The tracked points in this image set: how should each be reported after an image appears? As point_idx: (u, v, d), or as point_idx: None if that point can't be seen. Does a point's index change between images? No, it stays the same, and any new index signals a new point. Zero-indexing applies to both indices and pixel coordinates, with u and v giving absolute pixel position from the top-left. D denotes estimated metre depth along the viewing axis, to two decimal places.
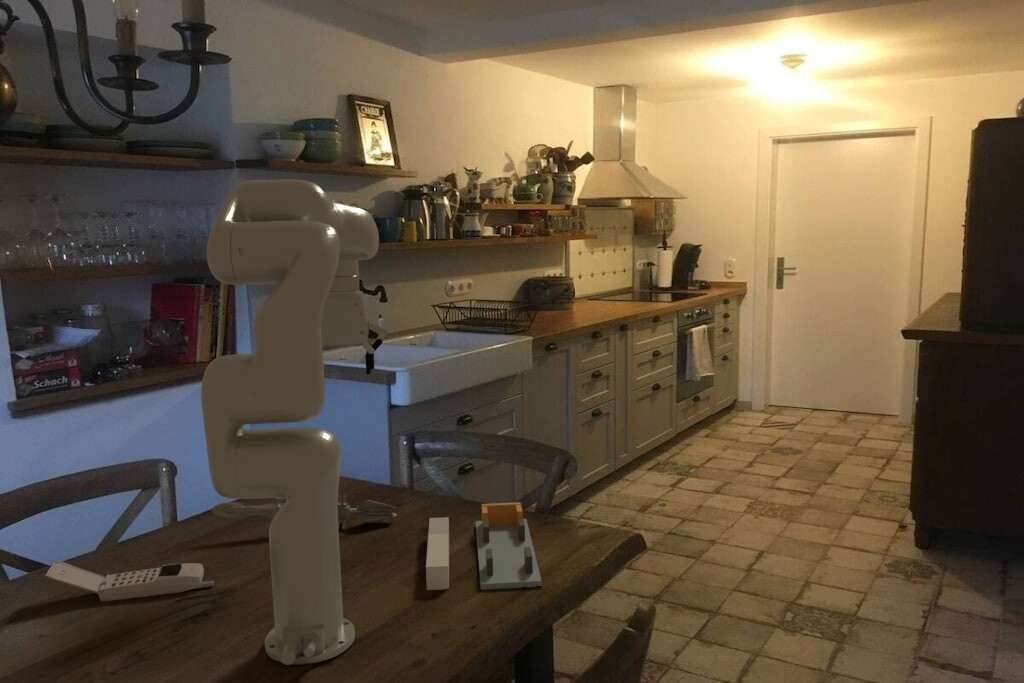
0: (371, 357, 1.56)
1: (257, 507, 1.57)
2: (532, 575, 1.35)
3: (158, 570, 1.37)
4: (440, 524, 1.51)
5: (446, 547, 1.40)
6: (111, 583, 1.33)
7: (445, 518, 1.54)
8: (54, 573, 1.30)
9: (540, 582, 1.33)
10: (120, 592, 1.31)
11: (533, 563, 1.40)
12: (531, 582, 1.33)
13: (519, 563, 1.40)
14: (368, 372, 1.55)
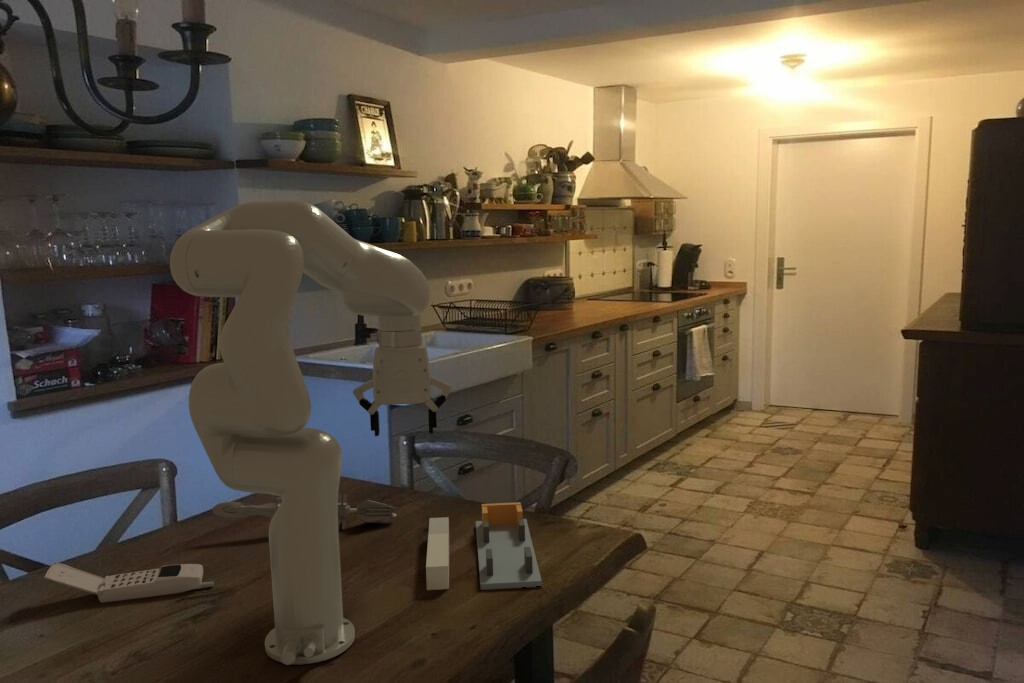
0: (434, 415, 1.46)
1: (257, 507, 1.57)
2: (532, 575, 1.35)
3: (157, 571, 1.36)
4: (440, 524, 1.51)
5: (446, 547, 1.40)
6: (110, 584, 1.32)
7: (445, 518, 1.54)
8: (53, 574, 1.29)
9: (540, 582, 1.33)
10: (120, 593, 1.31)
11: (533, 563, 1.40)
12: (531, 582, 1.33)
13: (519, 563, 1.40)
14: (431, 431, 1.45)
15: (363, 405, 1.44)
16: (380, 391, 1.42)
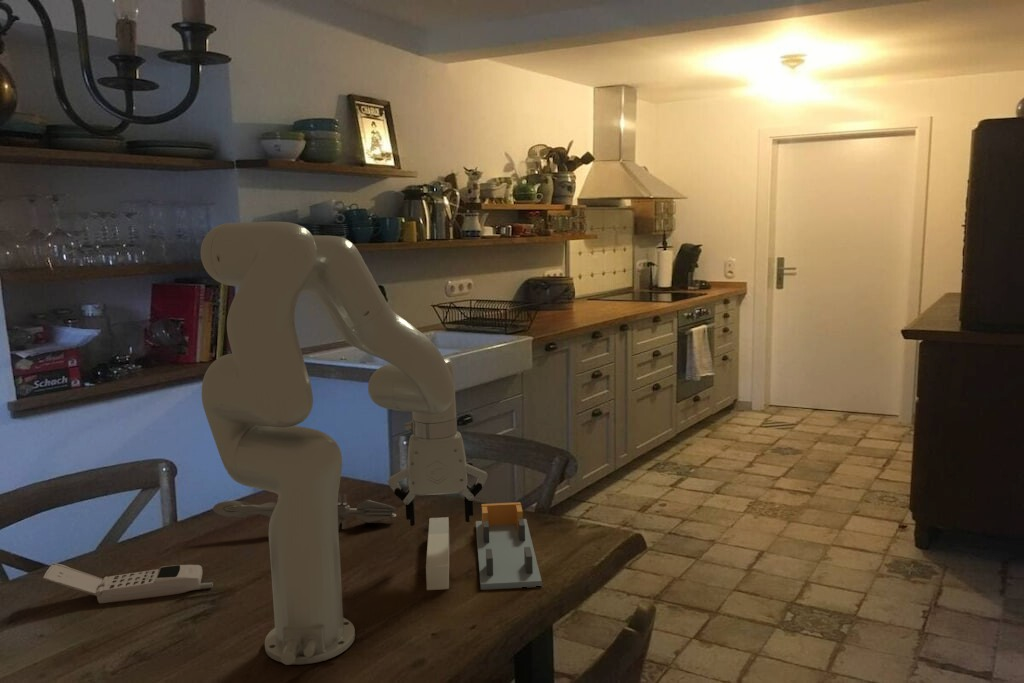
0: (470, 503, 1.43)
1: (257, 506, 1.57)
2: (532, 575, 1.35)
3: (156, 572, 1.36)
4: (440, 524, 1.51)
5: (446, 547, 1.40)
6: (109, 585, 1.32)
7: (445, 518, 1.54)
8: (52, 575, 1.29)
9: (540, 582, 1.33)
10: (118, 594, 1.31)
11: (533, 563, 1.40)
12: (531, 582, 1.33)
13: (519, 563, 1.40)
14: (468, 520, 1.42)
15: (398, 495, 1.41)
16: (415, 482, 1.39)
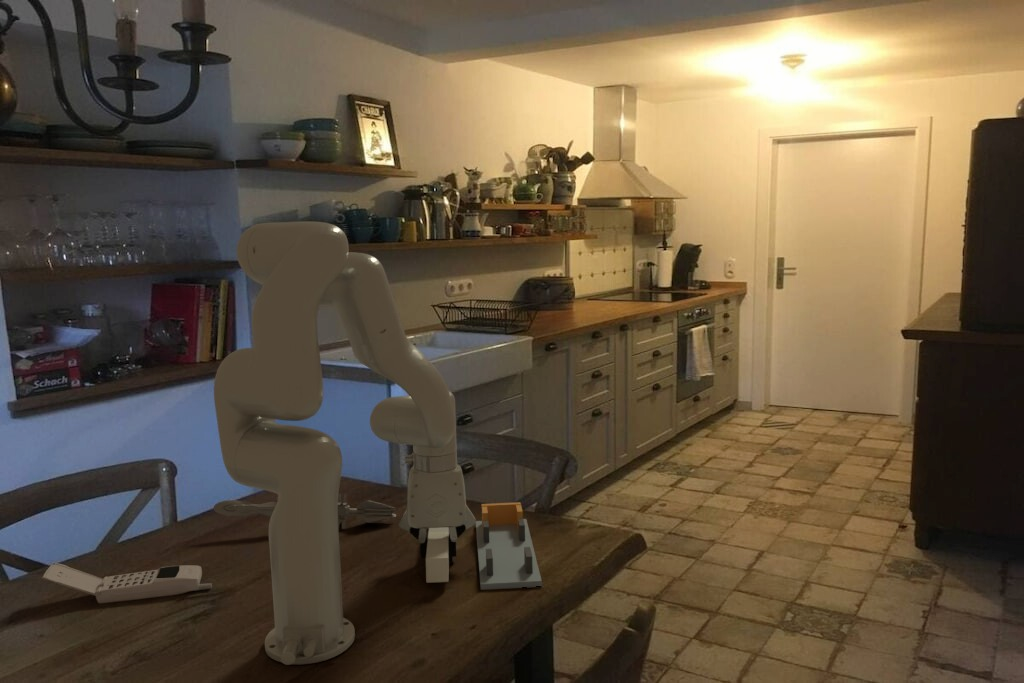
0: (454, 544, 1.43)
1: (257, 505, 1.58)
2: (532, 575, 1.35)
3: (156, 572, 1.36)
4: None
5: (446, 542, 1.40)
6: (108, 585, 1.32)
7: None
8: (51, 575, 1.29)
9: (540, 582, 1.33)
10: (117, 594, 1.31)
11: (533, 563, 1.40)
12: (531, 582, 1.33)
13: (519, 563, 1.40)
14: (451, 561, 1.42)
15: (413, 533, 1.42)
16: (415, 515, 1.40)
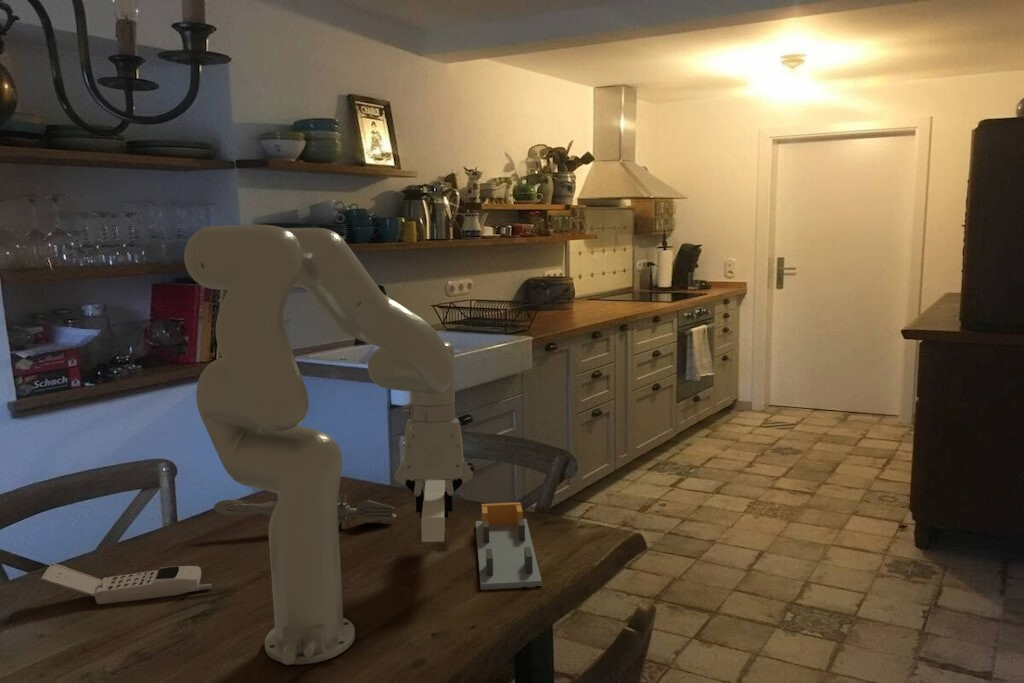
0: (450, 499, 1.41)
1: (258, 505, 1.58)
2: (532, 575, 1.35)
3: (155, 573, 1.36)
4: (436, 485, 1.49)
5: (442, 503, 1.38)
6: (108, 586, 1.32)
7: (442, 480, 1.52)
8: (50, 576, 1.29)
9: (540, 582, 1.33)
10: (117, 595, 1.30)
11: (533, 563, 1.40)
12: (531, 582, 1.33)
13: (519, 563, 1.40)
14: (446, 515, 1.40)
15: (409, 486, 1.40)
16: (411, 466, 1.38)
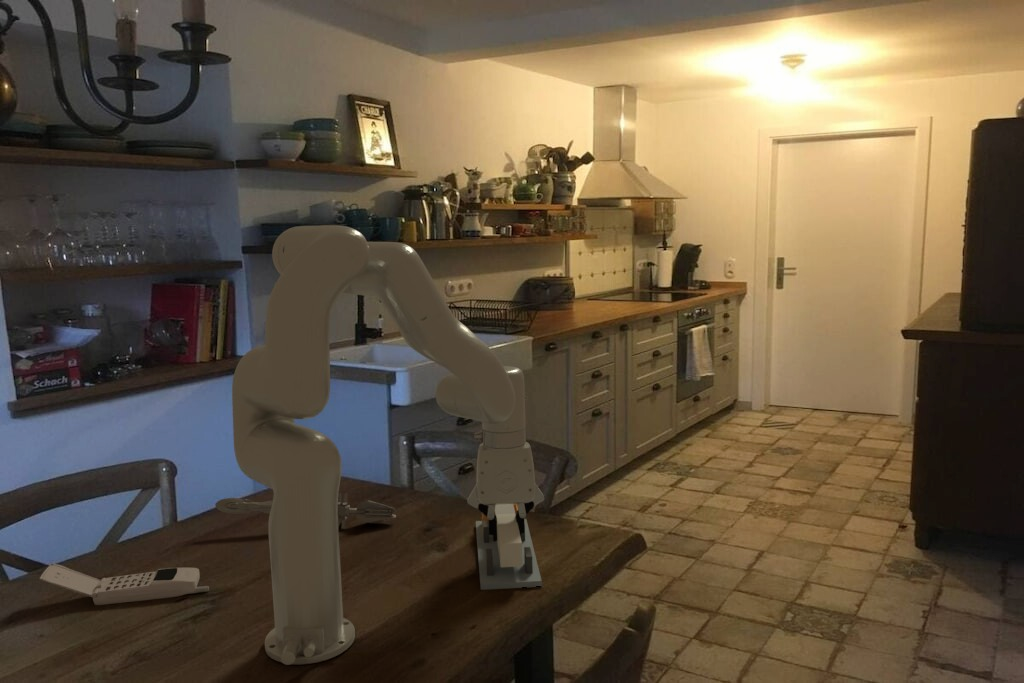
0: (522, 521, 1.43)
1: (258, 504, 1.59)
2: (532, 575, 1.35)
3: (154, 574, 1.35)
4: (505, 505, 1.51)
5: (516, 526, 1.41)
6: (106, 587, 1.31)
7: None
8: (49, 576, 1.29)
9: (540, 582, 1.33)
10: (114, 596, 1.30)
11: (533, 563, 1.40)
12: (531, 582, 1.33)
13: None
14: None
15: (482, 510, 1.42)
16: (484, 491, 1.40)
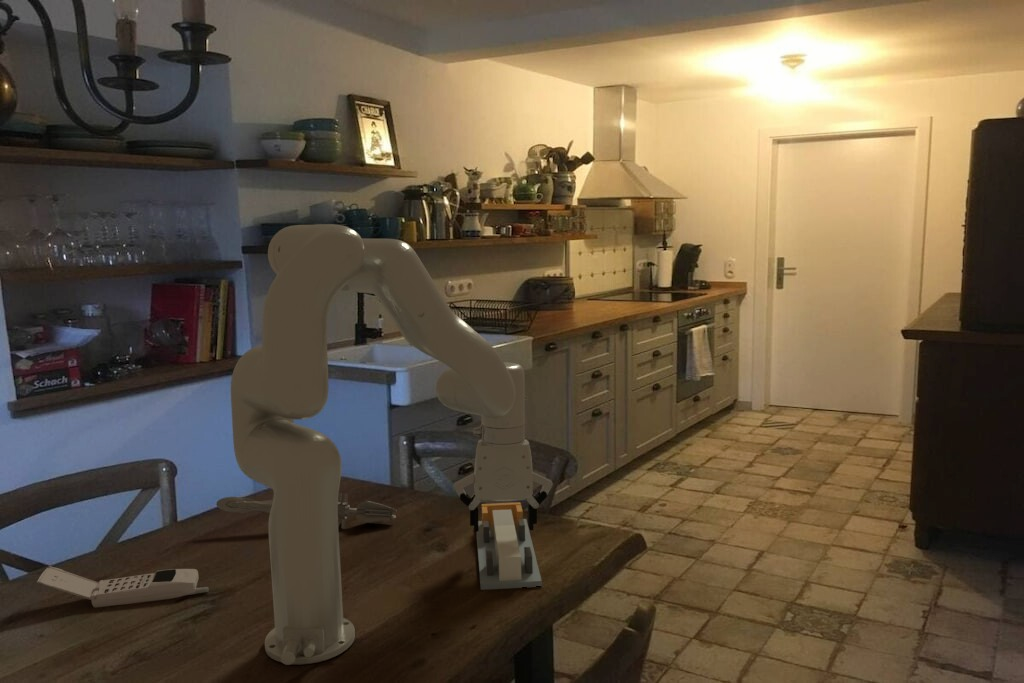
0: (535, 511, 1.43)
1: (259, 503, 1.59)
2: (532, 575, 1.35)
3: (152, 576, 1.34)
4: (504, 516, 1.51)
5: (515, 538, 1.41)
6: (104, 589, 1.31)
7: (508, 510, 1.54)
8: (46, 579, 1.28)
9: (540, 582, 1.33)
10: (113, 598, 1.29)
11: (533, 563, 1.40)
12: (531, 582, 1.33)
13: None
14: (531, 528, 1.42)
15: (463, 500, 1.41)
16: (482, 487, 1.39)
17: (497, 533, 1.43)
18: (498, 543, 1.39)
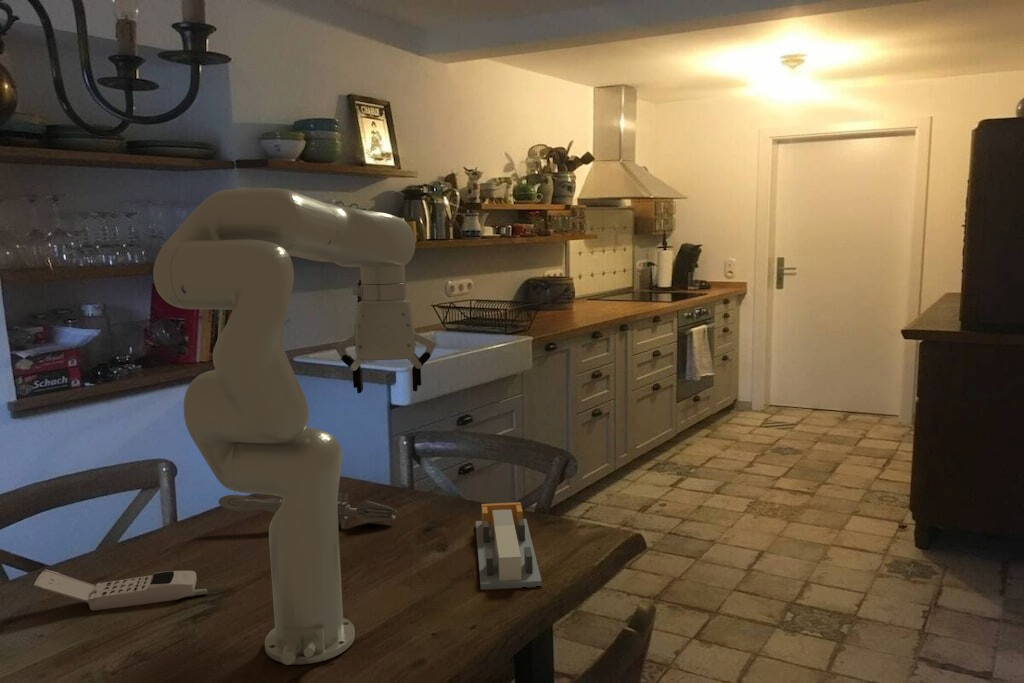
0: (418, 372, 1.42)
1: (260, 501, 1.60)
2: (532, 575, 1.35)
3: (150, 578, 1.34)
4: (504, 516, 1.51)
5: (515, 538, 1.41)
6: (101, 592, 1.30)
7: (508, 510, 1.54)
8: (43, 582, 1.27)
9: (540, 582, 1.33)
10: (111, 601, 1.28)
11: (533, 563, 1.40)
12: (531, 582, 1.33)
13: None
14: (415, 389, 1.42)
15: (345, 361, 1.41)
16: (362, 346, 1.39)
17: (497, 533, 1.43)
18: (498, 543, 1.39)
